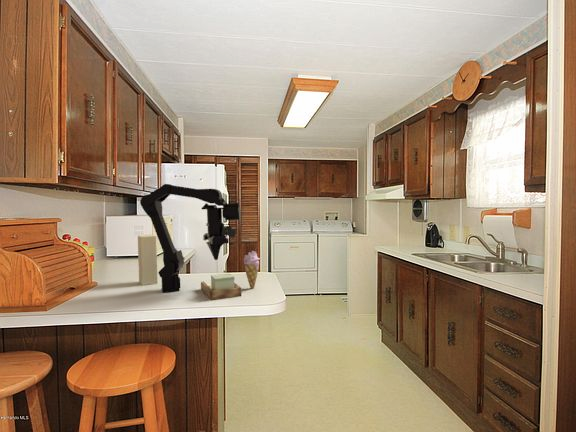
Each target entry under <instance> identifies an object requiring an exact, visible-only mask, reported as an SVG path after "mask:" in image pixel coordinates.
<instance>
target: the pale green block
mask: <svg viewBox="0 0 576 432" xmlns="http://www.w3.org/2000/svg"><path fill="white" fill-rule="evenodd" d="M210 278H211V280H210V283H211V284H210V286H211V288H212V290H213V291H214V290H222V289H230V288H234V283H235V279H236V278H235V276H234V275H232V274H231V273H222V274H212V275H210Z"/></svg>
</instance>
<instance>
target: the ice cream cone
mask: <svg viewBox="0 0 576 432" xmlns="http://www.w3.org/2000/svg"><path fill="white" fill-rule="evenodd" d="M259 260H261V258H260V257H258V253H257V251H254V250H251V252H250V251H249V252H248V254H244V258H243V261H244V262H243V266H244V271H245V274H246V275H245V276H246V279H247V281H248V285H249V287H250V289H251V290H254V289H255V286H256V282H257V279H258V275H259V274H258V273H259V266H260V261H259Z"/></svg>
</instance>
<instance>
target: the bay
mask: <svg viewBox="0 0 576 432" xmlns="http://www.w3.org/2000/svg"><path fill="white" fill-rule="evenodd" d="M200 289H201V291H202V292H203V294H204V295H205V296H206V297H207V298H208V299H209V300H210V301H213V300H222V299H228V298H237V297H242V295H243V294H242V287H241V286H239V285H238V284H237V283H235V282H234V288H230V289H222V290H214V291H213V290H212V288H211V285H208V284H207V283H206V282H205V281H200Z"/></svg>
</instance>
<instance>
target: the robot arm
mask: <svg viewBox="0 0 576 432" xmlns="http://www.w3.org/2000/svg"><path fill="white" fill-rule="evenodd" d="M170 195H174V196H180V197H186V198H194V199H197V200H200V201H203V202H205V203H204V205H203V206H202V207H201V210H206V221H207V223H206V225H205V226H207V232H205V233H204V234H203V239H202V240H203V241H206V244H207V247H208V249H209V251H210V253H211V255H212V257H213V260H214V261H217V260H218V259H219V255H220V250H221V247H222V246H223V245H225V244H229V242H230V241H229V237H230V238H232V239H233V238H234V239H236V236H237V232H238V230H236V229H232V226H229V225H226V226H225V223H223V219H225V221H240V220H241V219H242V209H241V205H240V204H241V203H240V202H234V203H228V202H227V201H226V200H225V198H223V193H222V191H221V190H219V189H216V188H192V187H185V186H179V185H173V184H170V183H164V184H162V186H160V187H159V188H156V189H155V190H154V191H152V192H149V193H148V194H145V195H143V196H142V197H141V198H140V201H139V203H140V206H141V208H142V210H143V212H144V213H145V214H146V215H147V216H148V217H149V218H150V220H151V223H152V227H153V229H154V232H155V233H156V238H157V239H158V241H159V244H160V246H161V250H162V252H163V253H162V261H163V267H162V268H161V269H160V270H159V271H157V274H158V275H159V277H160V278H161V288H160V290H161V292H162V293H170V292H178V291H181V278H180V276H179V273H180V271H181V269H182V268H183V267H184V265H185V257H184V255H183V252H182V250H181V249H180V250H177V248H176V247H175V245H174V243H173V240H172V237H171V235H170V232H169V229H168V226H167V224H166V222H165V219H164V217H163V205H162V204H163V202H164V201H165V200H167V198H168V197H170ZM208 203H209V204H208ZM217 206H218V207H217ZM221 206H222V207H221ZM207 240H208V241H207Z"/></svg>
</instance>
